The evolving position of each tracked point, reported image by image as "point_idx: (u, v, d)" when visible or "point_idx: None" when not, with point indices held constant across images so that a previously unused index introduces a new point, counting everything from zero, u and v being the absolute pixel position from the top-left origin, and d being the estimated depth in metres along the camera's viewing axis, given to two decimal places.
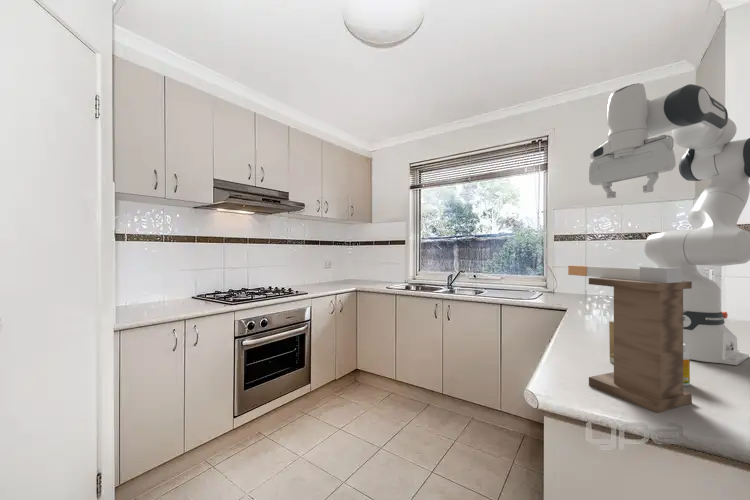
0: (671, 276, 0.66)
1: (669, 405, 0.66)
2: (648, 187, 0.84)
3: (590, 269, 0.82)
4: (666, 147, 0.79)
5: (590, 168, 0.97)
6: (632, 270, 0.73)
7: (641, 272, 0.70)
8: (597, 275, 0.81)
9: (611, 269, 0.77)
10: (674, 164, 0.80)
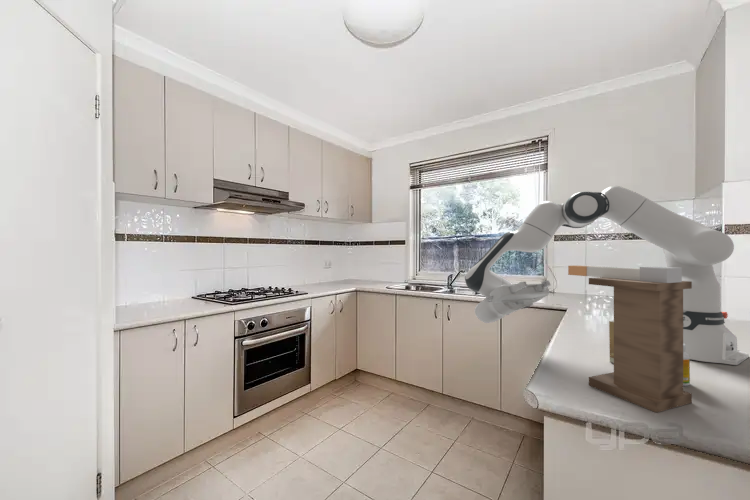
0: (671, 276, 0.66)
1: (669, 405, 0.66)
2: (522, 287, 0.98)
3: (590, 269, 0.82)
4: (493, 300, 1.04)
5: (540, 299, 1.09)
6: (632, 270, 0.73)
7: (641, 272, 0.70)
8: (597, 275, 0.81)
9: (611, 269, 0.77)
10: (497, 289, 1.01)
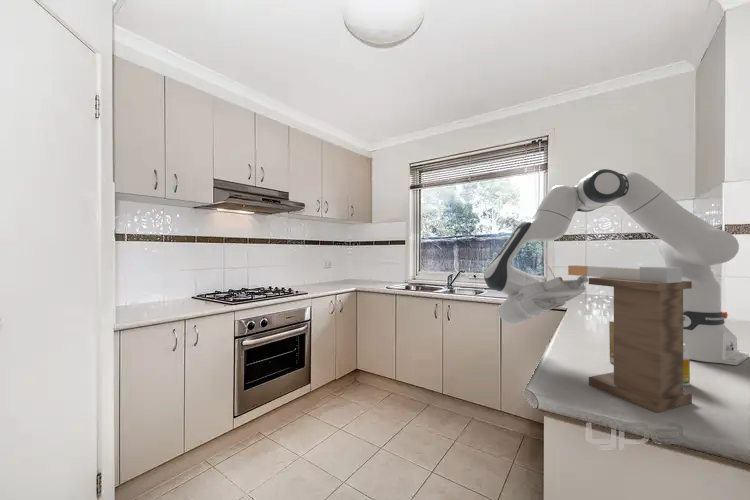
0: (671, 276, 0.66)
1: (669, 405, 0.66)
2: (557, 284, 0.87)
3: (590, 269, 0.82)
4: (523, 299, 0.92)
5: (574, 297, 0.98)
6: (632, 270, 0.73)
7: (641, 272, 0.70)
8: (597, 275, 0.81)
9: (611, 269, 0.77)
10: (529, 286, 0.90)
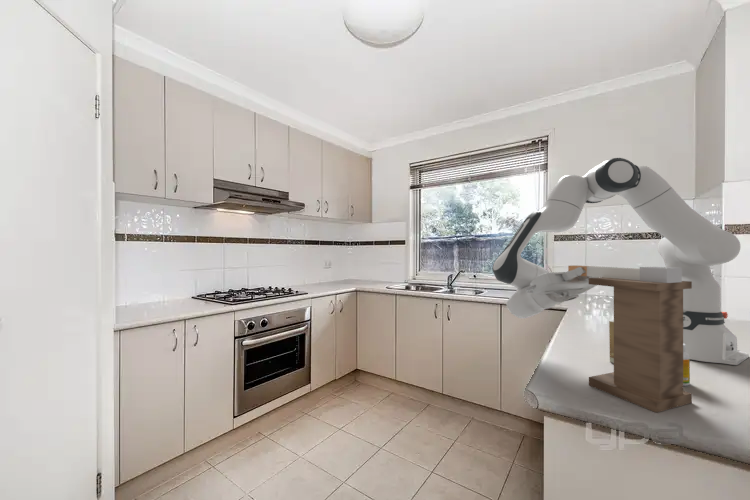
0: (671, 276, 0.66)
1: (669, 405, 0.66)
2: (579, 274, 0.83)
3: (590, 269, 0.82)
4: (535, 290, 0.88)
5: (587, 290, 0.94)
6: (632, 270, 0.73)
7: (641, 272, 0.70)
8: (597, 275, 0.81)
9: (611, 269, 0.77)
10: (542, 277, 0.86)
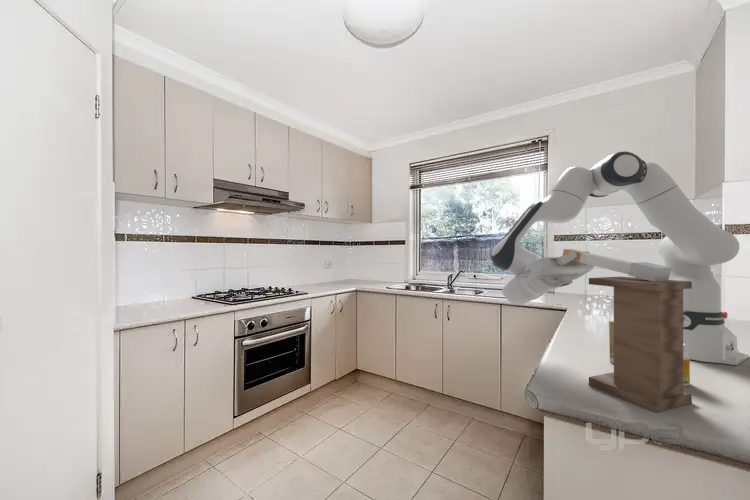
0: (659, 275, 0.68)
1: (669, 405, 0.66)
2: (573, 258, 0.85)
3: (584, 256, 0.84)
4: (530, 275, 0.90)
5: (581, 275, 0.95)
6: (624, 264, 0.75)
7: (631, 267, 0.72)
8: (589, 263, 0.82)
9: (604, 259, 0.79)
10: (536, 261, 0.87)
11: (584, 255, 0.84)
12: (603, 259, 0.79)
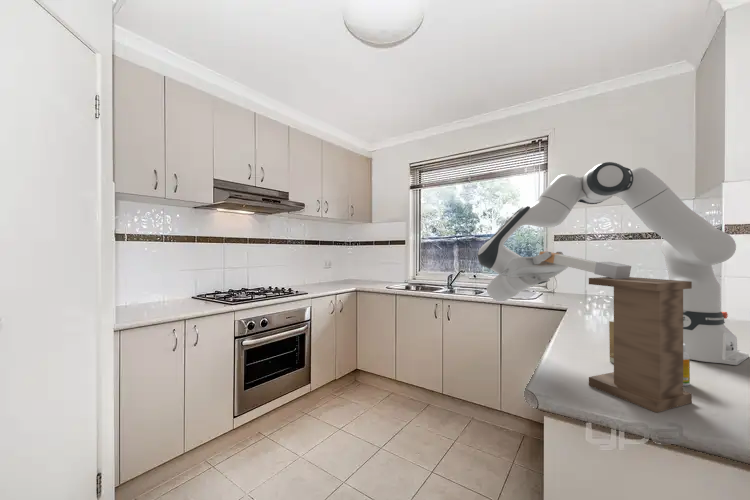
0: (620, 273, 0.76)
1: (669, 405, 0.66)
2: (546, 258, 0.93)
3: (557, 257, 0.91)
4: (508, 273, 0.97)
5: (557, 274, 1.03)
6: (590, 263, 0.82)
7: (596, 266, 0.79)
8: (562, 263, 0.90)
9: (574, 260, 0.86)
10: (513, 261, 0.95)
11: (557, 256, 0.91)
12: (573, 260, 0.87)
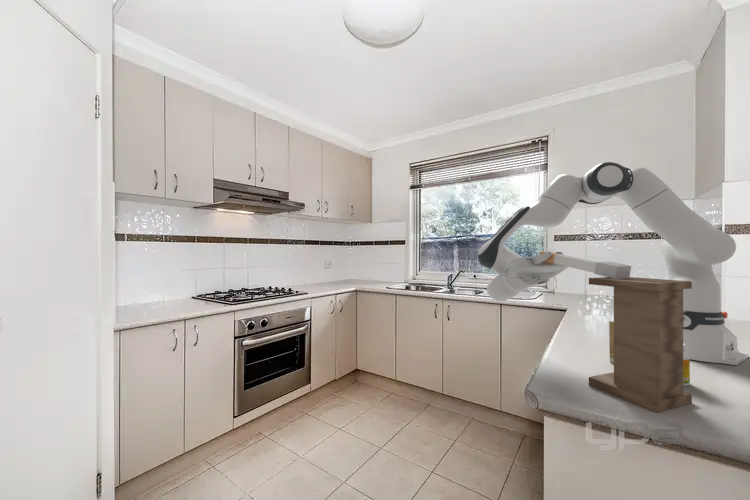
0: (620, 273, 0.76)
1: (669, 405, 0.66)
2: (546, 258, 0.93)
3: (557, 257, 0.91)
4: (508, 273, 0.98)
5: (557, 274, 1.03)
6: (590, 263, 0.82)
7: (596, 266, 0.79)
8: (562, 263, 0.90)
9: (574, 260, 0.86)
10: (513, 261, 0.95)
11: (557, 256, 0.91)
12: (573, 260, 0.87)
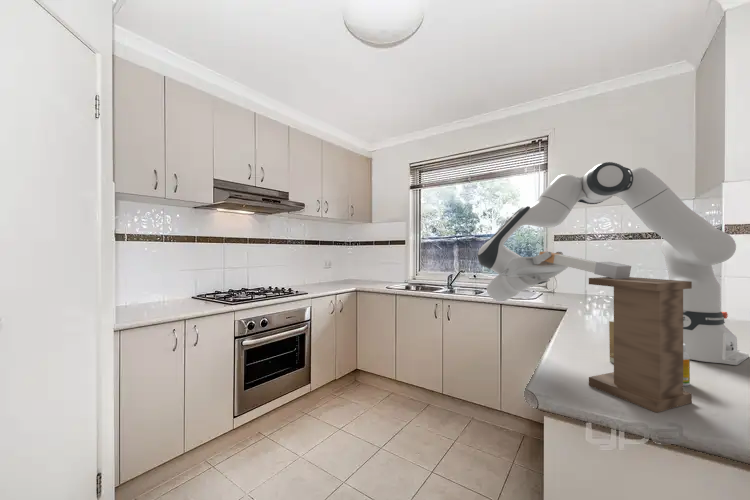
0: (620, 273, 0.76)
1: (669, 405, 0.66)
2: (546, 258, 0.93)
3: (557, 257, 0.91)
4: (508, 273, 0.98)
5: (557, 274, 1.03)
6: (590, 263, 0.82)
7: (596, 266, 0.79)
8: (562, 263, 0.90)
9: (574, 260, 0.86)
10: (513, 261, 0.95)
11: (557, 256, 0.91)
12: (573, 260, 0.87)
